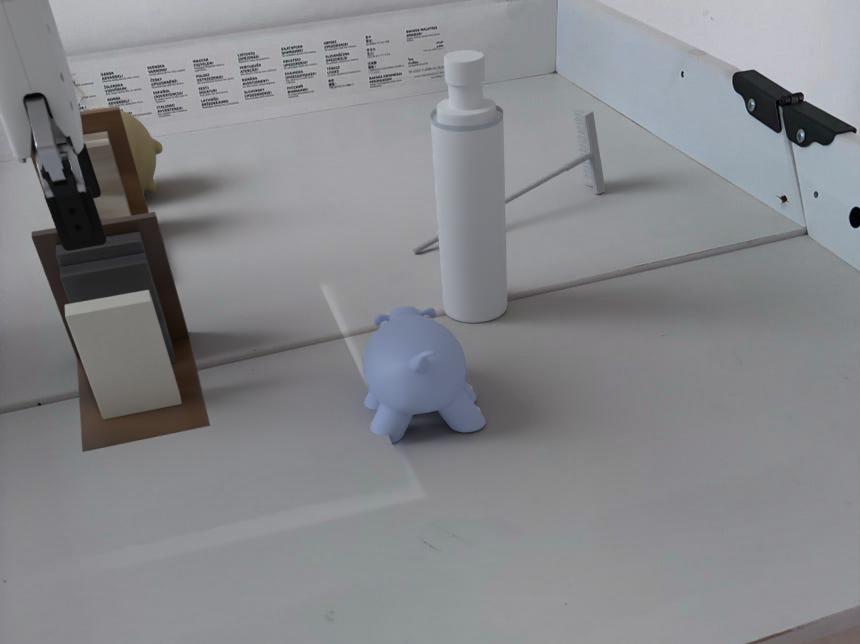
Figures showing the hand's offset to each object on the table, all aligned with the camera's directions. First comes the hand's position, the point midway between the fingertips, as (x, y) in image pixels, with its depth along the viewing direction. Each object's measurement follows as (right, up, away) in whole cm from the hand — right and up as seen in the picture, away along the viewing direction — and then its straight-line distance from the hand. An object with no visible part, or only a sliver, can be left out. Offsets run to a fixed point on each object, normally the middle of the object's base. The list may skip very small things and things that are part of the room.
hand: (84, 221), depth 76 cm
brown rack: (-1, -10, +15) cm, 18 cm away
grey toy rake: (+35, +18, +41) cm, 57 cm away
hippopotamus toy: (+26, -12, +12) cm, 31 cm away
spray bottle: (+31, +2, +25) cm, 40 cm away
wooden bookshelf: (-12, +11, +37) cm, 40 cm away
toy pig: (-15, +24, +50) cm, 57 cm away
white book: (0, -12, +12) cm, 17 cm away
